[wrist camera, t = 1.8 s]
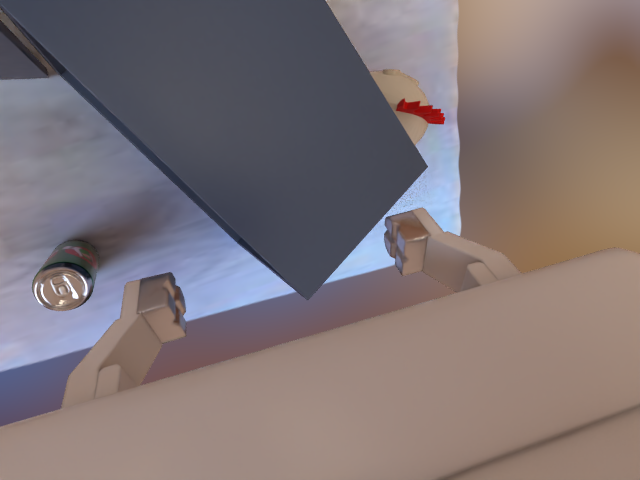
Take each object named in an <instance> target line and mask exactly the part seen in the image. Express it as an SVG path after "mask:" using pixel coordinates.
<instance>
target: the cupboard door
mask: <svg viewBox="0 0 640 480" xmlns="http://www.w3.org/2000/svg"><path fill="white" fill-rule="evenodd" d="M30 78H49V76H48V73H47V69H46V68H45V67H44V66H43V65H42V64H41V62H40V61H39V60H38V59H37V58H36V57H35V56H34V55H33V54H32V53H31V52H30V51H29V50H28V49H27V48H26V47H25V46H24V45H23V44H22V42H21V41H20V40H19V39H18V38H17V37H16V36H15V35H14V34H13V33H12V32H11V31H10V30H9V29H8V28H7V27H6V26H5V25H4V24H3V23H2V21H1V20H0V79H30Z"/></svg>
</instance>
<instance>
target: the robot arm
mask: <svg viewBox="0 0 640 480" xmlns="http://www.w3.org/2000/svg"><path fill="white" fill-rule="evenodd" d="M385 227H386V228H387V231H386V232H385V234H384V241H385V246H386V249H387V251H388V253H389V255H390V256H391V257H393V258H395V265H396V267H397V268H398V270H399V271H400V273H401V275H402V276H405V275H408V274H412V273H416V272H420V271H423V272H424V273H425V274H427V275H429V276H430V277H432V278H434V279H435V280H437V281H438V282H440V283H442V284H443V285H445V286H446V287H448V288H450V289H451V290H453V291H455V292H456V293H455V294H451V295H448V296H444V297H441V298H438V299H434V300H431V301H427V302H424V303H421V304H417V305H414V306H410V307H407V308H403V309H400V310H396V311H394V312H390V313H387V314H383V315H379V316H376V317H373V318H369V319H366V320H362V321H359V322H355V323H352V324H349V325H345V326H342V327H339V328H335V329H332V330H328V331H325V332H322V333H318V334H315V335H311V336H308V337H304V338H301V339H298V340H294V341H291V342H287V343H284V344H281V345H277V346H274V347H270V348H267V349H264V350H260V351H257V352H253V353H250V354H247V355H243V356H240V357H236V358H233V359H230V360H226V361H223V362H219V363H216V364H213V365H210V366H206V367H202V368H199V369H196V370H192V371H189V372H185V373H182V374H178V375H175V376H172V377H168V378H165V379H161V380H158V381H155V382H152V383H148V384H144V385H141V383H142V381H143V379H144V377H145V376H146V374H147V372H148V370H149V369H150V367H151V365H152V363H153V361H154V360H155V358H156V356H157V354H158V353H159V350H160V349H161V347H162V344H164V343H167V342H170V341H173V340H177V339H180V338H183V337H186V321H185V319H184V317H183V315H184V313H185V312H186V306H185V300H184V296H183V293H182V291H181V289H180V287H178V286H176V285H175V278H174V276H173V274H172V273H171V272H168V273H164V274H160V275H155V276H151V277H147V278H142V279H140V280H135V281H131V282H127V283H126V285H125V287H124V294H123V301H122V308H121V315H120V319H118V320H115V322H114V323H113V324H112V325H111V326H110V327H109V329H108V330H107V331H106V332H105V333H104V335H103V336H102V337H101V338H100V339H99V341H98V342H97V343H96V344H95V345H94V347H93V348H92V349H91V350H90V351H89V353H88V354H87V355H86V356H85V357H84V358H83V360H82V361H81V362H80V363H79V365H78V366H77V367H76V368H75V369H74V370H73V372H72V373H71V374H70V375H69V377H68V381H67V385H66V389H65V394H64V398H63V402H62V406H61V409H59V410H56V411H52V412H49V413H46V414H42V415H39V416H35V417H32V418H29V419H25V420H22V421H18V422H15V423H12V424H8V425H5V426H2V427H0V480H640V253H636V252H633V251H630V250H626V249H622V248H608V249H604V250H600V251H597V252H594V253H590V254H587V255H584V256H581V257H577V258H574V259H571V260H567V261H563V262H560V263H557V264H553V265H550V266H546V267H543V268H539V269H537V270H533V271H530V272H526V273H521V272H520V271H519V270H518V269H517V268H516V267H515V266H514V264H513V263H512V262H511V261H510V260H509V259H508V258H507V257H506V256H505V255H504V254H503V253H500V252H498V251H495V250H493V249H490V248H488V247H485V246H482V245H480V244H478V243H475V242H473V241H470V240H468V239H465V238H462V237H460V236H458V235H455V234H453V233H450V232H444V231H443V230H442V229H441V228H440V227H439V225H438V224H437V223H436V222H435V221H434V219H433V218H432V217H431V216H430V215H429V213H428V212H427V211H426V210H425V209H424V208H418V209H415V210H411V211H408V212H404V213H400V214H396V215H392V216H389V217H386V219H385ZM140 385H141V386H140Z"/></svg>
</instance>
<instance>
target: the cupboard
mask: <svg viewBox="0 0 640 480" xmlns="http://www.w3.org/2000/svg"><path fill="white" fill-rule="evenodd" d="M0 8H1V9H2V10H3V12H4V13H5V14H6V15H7V16H8V17H9V18H10V20H11V21H12V22H13V23H14V24H15V25H16V27H17V28H18V29H19V30H20V31H21V32H22V33H23V35H24V36H25V37H26V38H27V39H28V40H29V41H30V43H31V44H32V45H33V46H34V47H35V48H36V50H37V51H38V52H39V53H40V54H41V55H42V56H43V58H44V59H45V60H46V61H47V62H48V63H49V64H50V66H51V67H52V68H53V69H54V70H55V71H56V72H57V73H58V74H59V75H60V76H61V77H62V78H63V79H64V80H66V81H67V82H68V83H69V84H70V85H71V86H72V87H73V88H74V89H75V90H76V91H77V92H78V93H79V94H80V95H81V96H82V97H84V98H85V99H86V100H87V101H88V102H89V103H90V104H91V105H92V106H93V107H94V108H95V109H96V110H97V111H98V112H99V113H100V114H102V115H103V116H104V117H105V118H106V119H107V120H108V121H109V122H110V123H111V124H112V125H113V126H114V127H115V128H116V129H117V130H118V131H120V132H121V133H122V134H123V135H124V136H125V137H126V138H127V139H128V140H129V141H130V142H131V143H132V144H133V145H134V146H135V147H136V148H138V149H139V150H140V151H141V152H142V153H143V154H144V155H145V156H146V157H147V158H148V159H149V160H150V161H151V162H152V163H153V164H154V165H156V166H157V167H158V168H159V169H160V170H161V171H162V172H163V173H164V174H165V175H166V176H167V177H168V178H169V179H170V180H171V181H172V182H174V183H175V184H176V185H177V186H178V187H179V188H180V189H181V190H182V191H183V192H184V193H185V194H186V195H187V196H188V197H189V198H190V199H192V200H193V201H194V202H195V203H196V204H197V205H198V206H199V207H200V208H201V209H202V210H203V211H204V212H205V213H206V214H207V215H208V216H210V217H211V218H212V219H213V220H214V221H215V222H216V223H217V224H218V225H219V226H220V227H221V228H222V229H223V230H224V231H225V232H226V233H228V234H229V235H230V236H231V237H232V238H233V239H234V240H235V241H236V242H237V243H238V244H239V245H240V246H242V247H243V248H244V249H245V250H246V251H248V252H249V253H250V254H251V255H253V256H254V257H255V258H256V259H257V260H259V261H260V262H261V263H262V264H264V265H265V266H266V267H267V268H269V269H270V270H271V271H272V272H273V273H275V274H276V275H277V276H278V277H280V278H281V279H282V280H283V281H284V282H286V283H287V284H288V285H289V286H291V287H292V288H293V289H294V290H295V291H297V292H298V293H299V294H300V295H302V296H303V297H304V298H305V299H307V300H309V299H310V298H311V297H312V295H313V294H314V293H315V292H316V291H317V290H318V289H319V288H320V287H321V285H322V284H323V283H324V282H325V281H326V280H327V279H328V278H329V276H330V275H331V274H332V273H333V272H334V271H335V270H336V269H337V268H338V266H339V265H340V264H341V263H342V262H343V261H344V260H345V259H346V258H347V256H348V255H349V254H350V253H351V252H352V251H353V250H354V249H355V247H356V246H357V245H358V244H359V243H360V242H361V241H362V240H363V239H364V237H365V236H366V235H367V234H368V233H369V232H370V231H371V230H372V228H373V227H374V226H375V225H376V224H377V223H378V222H379V221H380V220H381V218H382V217H383V216H384V215H385V214H386V213H387V212H388V211H389V210H390V208H391V207H392V206H393V205H394V204H395V203H396V202H397V201H398V199H399V198H400V197H401V196H402V195H403V194H404V193H405V192H406V191H407V189H408V188H409V187H410V186H411V185H412V184H413V183H414V182H415V180H416V179H417V178H418V177H419V176H420V175H421V174H422V173H423V172H424V170H425V169H426V168H427V167H428V166H427V164H426V163H425V161H424V160H423V158H422V156H421V155H420V153H419V152H418V150H417V148H416V147H415V145H414V143H413V142H412V140H411V139H410V137H409V135H408V134H407V132H406V131H405V129H404V127H403V126H402V124H401V122H400V121H399V119H398V118H397V116H396V114H395V113H394V111H393V109H392V108H391V106H390V105H389V103H388V101H387V100H386V98H385V97H384V95H383V93H382V92H381V90H380V88H379V87H378V85H377V84H376V82H375V80H374V79H373V77H372V76H371V74H370V72H369V71H368V69H367V67H366V66H365V64H364V63H363V61H362V59H361V58H360V56H359V54H358V53H357V51H356V50H355V48H354V46H353V45H352V43H351V42H350V40H349V38H348V37H347V35H346V33H345V32H344V30H343V29H342V27H341V25H340V24H339V22H338V21H337V19H336V17H335V16H334V14H333V12H332V11H331V9H330V8H329V6H328V4H327V3H326V1H325V0H0Z"/></svg>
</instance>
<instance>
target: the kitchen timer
mask: <svg viewBox="0 0 640 480" xmlns="http://www.w3.org/2000/svg"><path fill="white" fill-rule="evenodd" d="M370 74H371V76H372V77H373V79H374V80H375V82H376V84H377V85H378V87H379V88H380V90H381V92H382V93H383V95H384V97H385V98H386V100H387V101H388V103H389V105H390V106H391V108H392V109H393V111H394V113H395V114H396V116H397V118H398V119H399V121H400V122H401V124H402V126H403V127H404V129H405V131H406V132H407V134H408V135H409V137H410V139H411V140H412V142H413V143H414V145H416V144H417V142H418V141H419V140H420V139H421V138H422V137H423V135H424V133H425V131H426V129H427V127H428V123H430V124H444V121H445V117H443V115H444V113H440V112H441V109H432V107H433V106H432V105H429V103H428V101H427V98H426V96H425V94H424V93H423V92H422V90H421V89H420V88H419V87H418V86H417V85H418V84H419V82H418V81H417V80H415V79H413V78H411V77H409V76H407V75H405V74H403V73H401V72H400V70H395V69H388V70H383V71H376V72H370Z"/></svg>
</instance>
